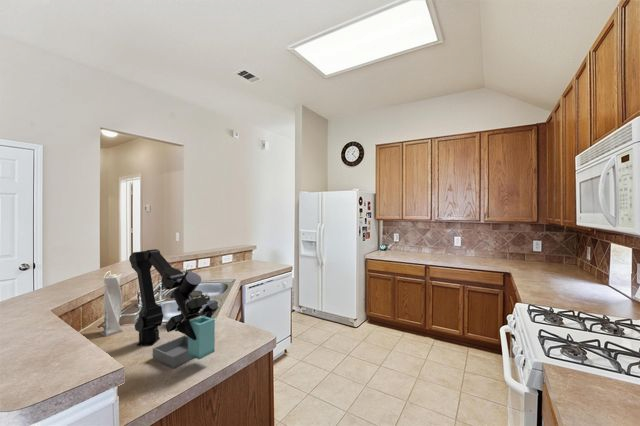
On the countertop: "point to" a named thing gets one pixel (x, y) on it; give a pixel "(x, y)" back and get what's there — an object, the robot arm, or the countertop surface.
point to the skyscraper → (112, 304)
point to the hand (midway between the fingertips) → (203, 336)
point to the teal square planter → (202, 337)
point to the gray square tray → (173, 352)
